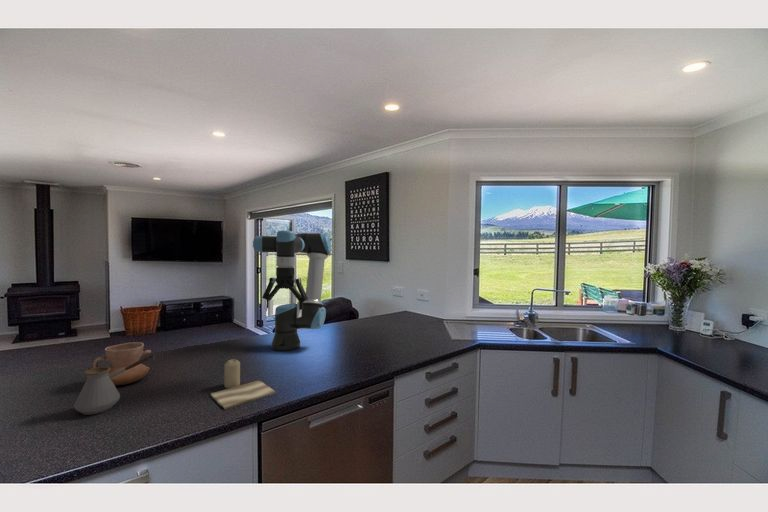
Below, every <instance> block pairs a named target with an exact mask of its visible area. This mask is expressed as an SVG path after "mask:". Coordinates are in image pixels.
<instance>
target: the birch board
mask: <svg viewBox="0 0 768 512" xmlns="http://www.w3.org/2000/svg"><path fill="white" fill-rule="evenodd" d="M274 393H276V391H275V390H274V389H273V388H271V387H270V386H269V385H267V384H265V383H264V382H263V381H261V380H255V381H251V382H248V383H244V384H240V385H239V386H236V387H232V388H225V389H223V390H219V391H215V392H211V393H210V397H211V398H212V399H213V400H215V402H216V403H217V404H218V405H219V406H220V407H221V406H222V407H223V408H224V409H225V410H228V409H230V407H231V408H234V407H237V405H238V406H240V404H241V405H243V403H244V404H246V402H247V403H250V402H253V401H256V399H257V400H260V399H263V398H266V397H268V395H269V396H273V395H275V394H274ZM265 396H266V397H265ZM262 397H263V398H262ZM259 398H260V399H259ZM249 401H250V402H249ZM233 406H234V407H233ZM222 407H221V408H222ZM223 408H222V409H223ZM227 408H228V409H227ZM224 409H223V410H224Z"/></svg>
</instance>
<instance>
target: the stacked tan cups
mask: <svg viewBox="0 0 768 512" xmlns="http://www.w3.org/2000/svg"><path fill="white" fill-rule="evenodd" d="M144 347H145V344H144V342H139V341H136V342H135V341H134V342H125V343H120V344H115V345H109V346H106V347H105V348H104V353H105V356H99V357H97V358H95V359H94V361H93V362H92V369H93V368H98V367H99V365H98V364H99V362H101V361H103V362H106V363H108V364H109V365H110V366H111V367H110V368H111V369H110V370H109V373H108V375H109V376H110V375H112V374H114V373H116V372H118V371H120V370H123V369H125V368H126V367H128V366H130V365H132V364H133V363H135V362H137V361H140V359H141V357H142V356H143V355H146V354H149V355H151V352H152V350H151V349H146V350H144ZM149 371H150V367H149V366H147V365H145V364H143V363H141V364H139V365H137V366H135V367H133V368H130V369H128V370H126V371H124V372H122V373H120V374H118V375H116V376H114V377H112V378H110V379H111V380H112V382H113V384H114V385H115V387H116V386H123V385H130V384H132V383H135V382H138V381H140V380H141V379H143V378H144V377H145V376H147V374H148V373H149Z"/></svg>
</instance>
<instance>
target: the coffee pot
mask: <svg viewBox="0 0 768 512" xmlns="http://www.w3.org/2000/svg"><path fill="white" fill-rule="evenodd" d="M152 358H153V359H154V361H155V360H156V358H155V355H154V354H152V355H151V354H150V355H149V356H146V357H145V358H142V359H141V360H140V359H139V361H137V362H135V363H133V364H132V365H130V366H128V367H126V368H125V369H123V370H120V371H118V372H116V373H114V374H112V375H110V376H109V375H108V373H109V370H110V369H111V367H110V366H100V367H99V366H98V368H93V367H92V368H90V369H88V370H86V371H85V372H84V375H86V378H87V379H86V381H85V383H84V384H83V387H82V389H81V390H80V393H79V395H78V396H77V398H76V400H75V402H74V404H73V408H74V409H75V411H77V412H79V413H81V414H82V415H85V416H86V415H90V416H91V415H96V414H100V413H104V412H106V411H108V410H111V409H112V408H113V406H114V405H116V404H117V403H118V402H119V400H120V398H121V394H120V392H119V390H118V389H117V387H116V386H115V385H114V384H113V382H112V380H111V379H110V378H112V377H114V376H116V375H118V374H120V373H122V372H124V371H126V370H128V369H130V368H133V367H135V366H137V365H139V364H143V363H144V362H145V361H146V362H147V361H148V360H149V359H152Z"/></svg>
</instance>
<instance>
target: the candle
mask: <svg viewBox="0 0 768 512" xmlns="http://www.w3.org/2000/svg"><path fill="white" fill-rule="evenodd" d="M223 372H224V373H223V374H224V380H223V381H224V382H223V383H224V384H223V385H224V388H225V389H229V388H232V387H236V386H240V385H241V362H240V361H239V360H238V359H236V358H235V359H234V358H231V359H230V360H229V359H228V360H227V361H226V362H225V364H224V371H223Z"/></svg>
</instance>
